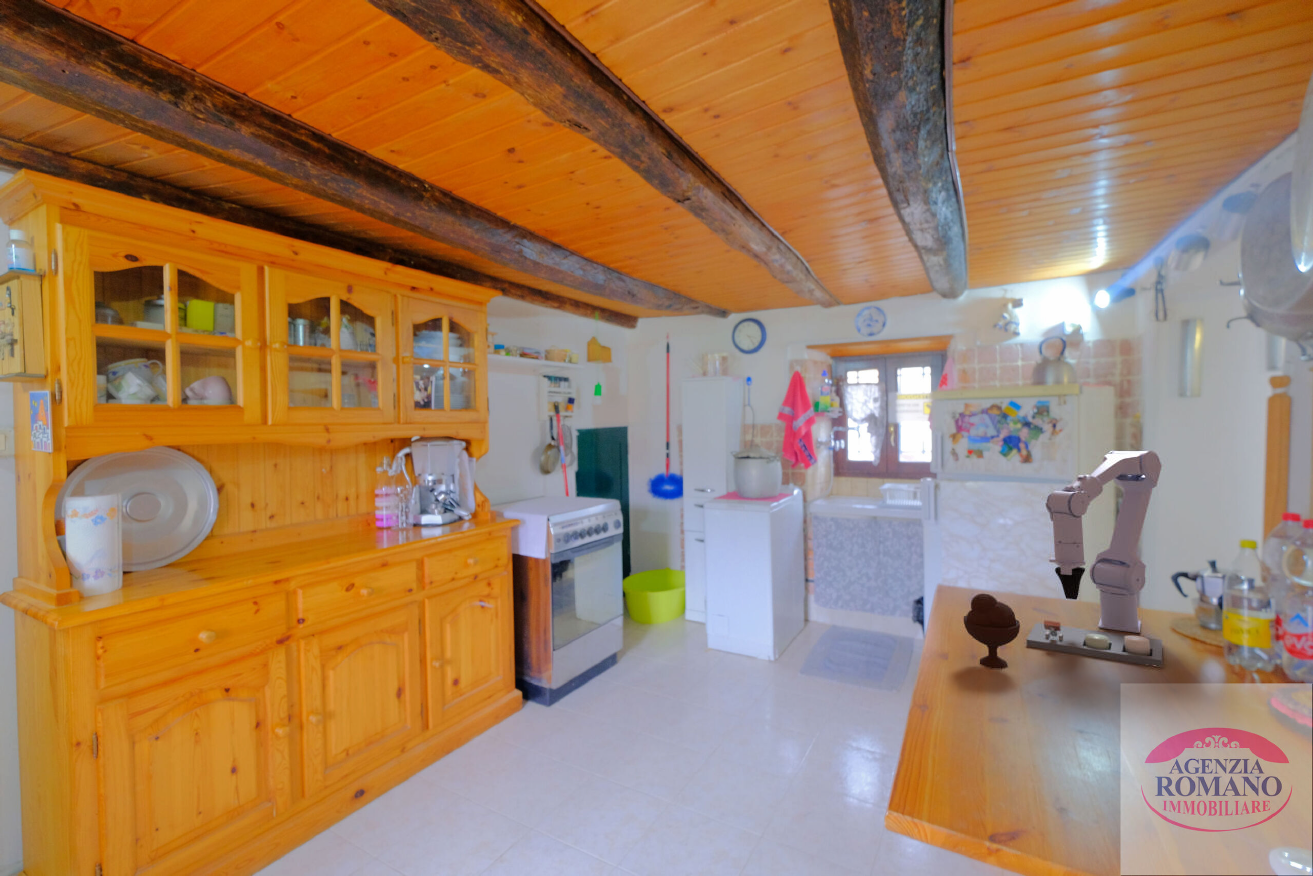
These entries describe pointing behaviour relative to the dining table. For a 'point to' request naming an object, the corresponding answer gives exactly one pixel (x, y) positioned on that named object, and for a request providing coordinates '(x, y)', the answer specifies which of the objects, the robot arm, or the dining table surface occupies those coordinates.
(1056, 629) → the toggle lever
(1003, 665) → the ice cream bowl
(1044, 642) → the panel
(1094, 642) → the sage button
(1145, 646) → the pinkish beige button
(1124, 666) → the dining table surface
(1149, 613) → the dining table surface
